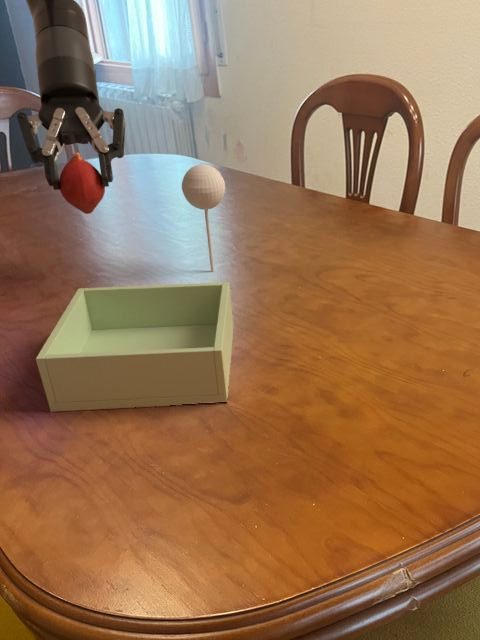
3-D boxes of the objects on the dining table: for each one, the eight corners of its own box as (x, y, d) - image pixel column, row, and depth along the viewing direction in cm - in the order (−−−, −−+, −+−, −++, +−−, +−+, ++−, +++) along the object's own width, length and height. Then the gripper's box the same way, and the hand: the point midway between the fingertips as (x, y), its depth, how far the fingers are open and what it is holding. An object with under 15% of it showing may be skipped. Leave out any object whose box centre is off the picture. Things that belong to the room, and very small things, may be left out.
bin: (50, 412, 66) (35, 358, 62) (88, 334, 80) (78, 288, 77) (227, 403, 67) (221, 350, 63) (233, 328, 81) (229, 282, 78)
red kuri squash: (56, 215, 90) (42, 153, 86) (90, 205, 94) (78, 146, 90) (84, 222, 88) (71, 158, 83) (118, 211, 91) (107, 150, 87)
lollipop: (208, 261, 101) (196, 158, 93) (240, 267, 99) (231, 162, 91) (184, 275, 96) (169, 167, 88) (217, 281, 94) (206, 171, 86)
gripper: (2, 55, 85) (15, 172, 82) (117, 52, 88) (133, 165, 85) (18, 95, 92) (30, 204, 89) (123, 91, 95) (139, 196, 92)
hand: (80, 184), depth 87 cm, fingers closed on red kuri squash, 5 cm apart
